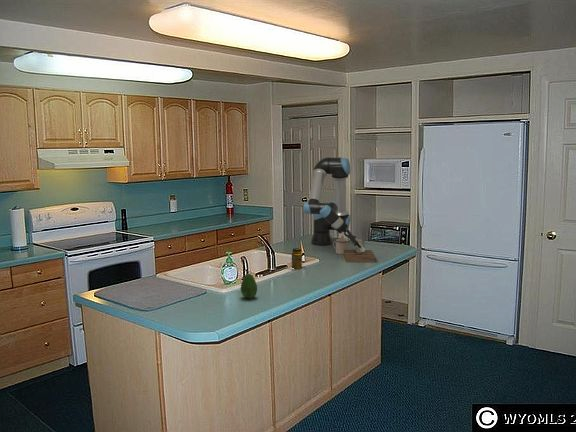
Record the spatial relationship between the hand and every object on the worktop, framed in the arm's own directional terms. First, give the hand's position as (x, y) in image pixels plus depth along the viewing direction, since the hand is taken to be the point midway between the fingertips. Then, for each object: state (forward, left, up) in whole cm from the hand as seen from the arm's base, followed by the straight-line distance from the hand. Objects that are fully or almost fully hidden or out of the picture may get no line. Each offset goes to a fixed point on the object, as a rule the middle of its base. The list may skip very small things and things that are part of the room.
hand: (362, 248), depth 330 cm
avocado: (+83, -66, -7) cm, 106 cm away
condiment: (+25, -43, -7) cm, 51 cm away
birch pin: (0, -2, -7) cm, 7 cm away
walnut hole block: (0, -2, -7) cm, 7 cm away
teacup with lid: (-19, -12, -7) cm, 24 cm away
